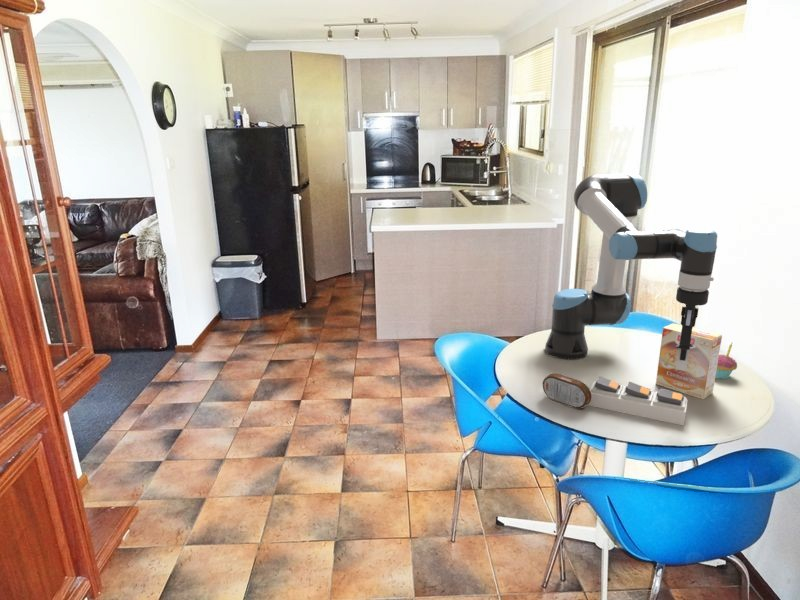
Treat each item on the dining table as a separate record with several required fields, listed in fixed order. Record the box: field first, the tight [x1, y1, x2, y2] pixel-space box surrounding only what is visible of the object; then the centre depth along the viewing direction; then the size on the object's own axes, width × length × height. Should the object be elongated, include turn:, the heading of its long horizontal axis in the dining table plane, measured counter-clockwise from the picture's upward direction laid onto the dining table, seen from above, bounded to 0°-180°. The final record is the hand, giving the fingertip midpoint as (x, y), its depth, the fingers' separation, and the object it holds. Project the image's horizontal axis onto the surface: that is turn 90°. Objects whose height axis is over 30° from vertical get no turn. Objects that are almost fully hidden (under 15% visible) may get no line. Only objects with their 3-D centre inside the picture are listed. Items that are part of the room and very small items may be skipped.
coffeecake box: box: [655, 322, 723, 400], centre depth 172 cm, size 15×7×20 cm, turn 40°
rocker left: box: [595, 375, 620, 393], centre depth 165 cm, size 6×5×2 cm
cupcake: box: [715, 342, 738, 380], centre depth 181 cm, size 9×8×12 cm
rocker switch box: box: [587, 379, 688, 426], centre depth 162 cm, size 28×9×5 cm, turn 61°
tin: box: [542, 372, 591, 410], centre depth 165 cm, size 15×3×8 cm, turn 44°
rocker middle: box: [625, 381, 651, 399], centre depth 161 cm, size 6×5×2 cm
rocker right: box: [657, 387, 684, 406], centre depth 157 cm, size 6×5×2 cm
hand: (681, 369), depth 154 cm, fingers closed
